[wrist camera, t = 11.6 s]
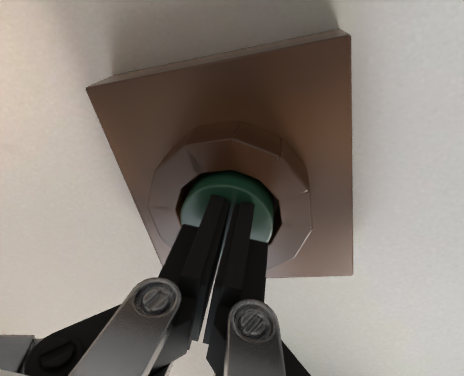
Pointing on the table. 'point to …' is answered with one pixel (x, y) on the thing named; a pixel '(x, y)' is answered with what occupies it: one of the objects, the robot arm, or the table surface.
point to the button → (231, 200)
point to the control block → (244, 142)
